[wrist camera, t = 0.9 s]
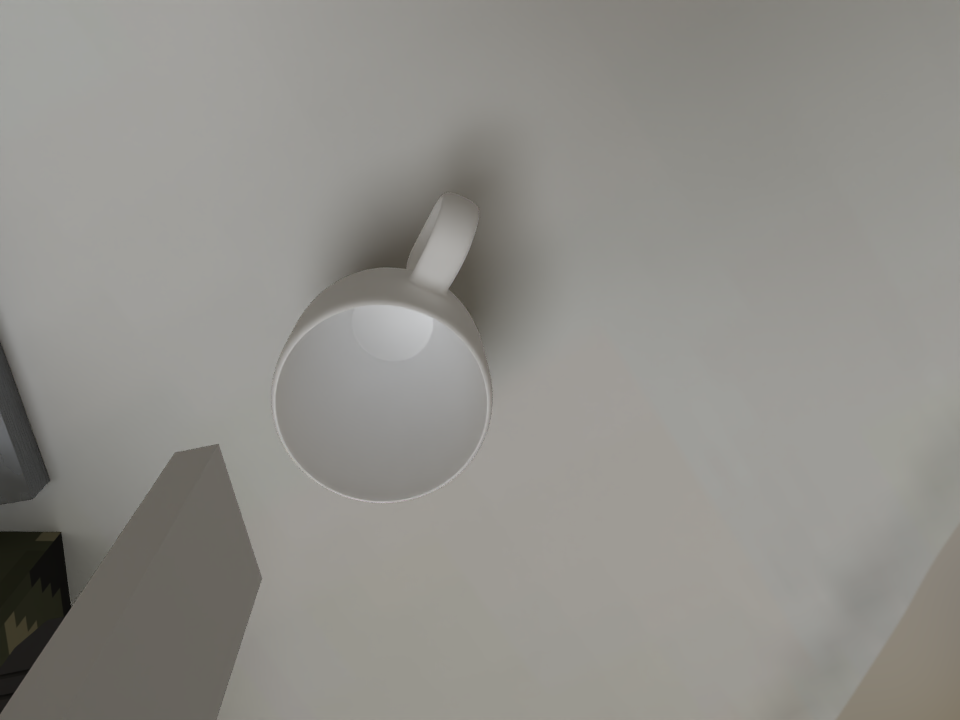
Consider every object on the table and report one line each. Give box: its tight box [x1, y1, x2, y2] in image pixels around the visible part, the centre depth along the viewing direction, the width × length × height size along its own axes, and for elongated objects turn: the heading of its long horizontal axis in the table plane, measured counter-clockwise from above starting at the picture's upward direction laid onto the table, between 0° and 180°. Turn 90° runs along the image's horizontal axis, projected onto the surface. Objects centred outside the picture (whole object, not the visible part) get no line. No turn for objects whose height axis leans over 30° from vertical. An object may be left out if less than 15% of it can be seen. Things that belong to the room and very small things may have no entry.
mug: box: [271, 192, 493, 503], centre depth 35 cm, size 12×8×11 cm
